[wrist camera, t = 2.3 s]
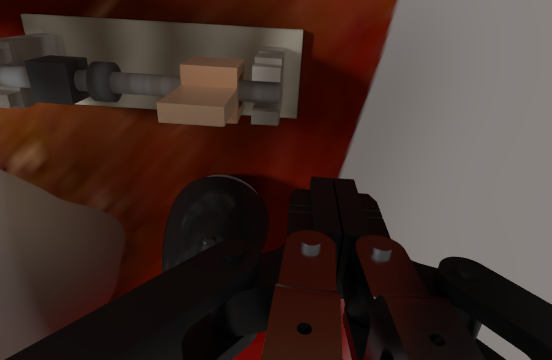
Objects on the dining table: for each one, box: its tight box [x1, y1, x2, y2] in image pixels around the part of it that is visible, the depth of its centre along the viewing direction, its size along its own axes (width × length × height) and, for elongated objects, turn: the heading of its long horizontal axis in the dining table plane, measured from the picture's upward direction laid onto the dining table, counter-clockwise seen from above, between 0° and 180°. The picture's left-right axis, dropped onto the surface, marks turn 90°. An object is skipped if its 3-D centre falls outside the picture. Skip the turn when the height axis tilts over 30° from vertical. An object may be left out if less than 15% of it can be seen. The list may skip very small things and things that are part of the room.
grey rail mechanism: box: [0, 14, 303, 126], centre depth 31 cm, size 26×8×10 cm, turn 87°
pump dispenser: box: [162, 175, 269, 273], centre depth 35 cm, size 10×10×15 cm
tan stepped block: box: [157, 56, 245, 127], centre depth 26 cm, size 4×4×9 cm
